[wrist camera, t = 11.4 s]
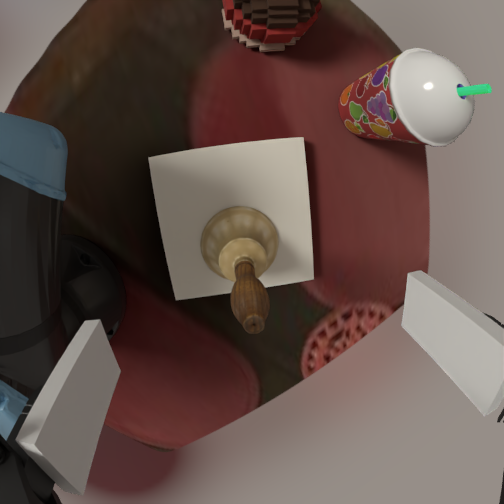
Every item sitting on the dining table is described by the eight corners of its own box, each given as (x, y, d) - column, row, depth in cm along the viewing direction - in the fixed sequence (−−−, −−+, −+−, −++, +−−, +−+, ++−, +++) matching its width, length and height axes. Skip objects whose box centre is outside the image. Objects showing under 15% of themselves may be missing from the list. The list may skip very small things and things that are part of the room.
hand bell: (239, 294, 34) (256, 394, 19) (184, 245, 32) (157, 325, 17) (293, 243, 33) (352, 317, 18) (240, 189, 30) (261, 223, 15)
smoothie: (399, 130, 32) (529, 131, 13) (347, 156, 33) (475, 170, 14) (370, 70, 29) (490, 25, 10) (314, 91, 30) (423, 36, 11)
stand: (177, 292, 35) (175, 300, 33) (152, 157, 30) (148, 157, 28) (309, 273, 36) (313, 279, 35) (298, 138, 31) (303, 137, 29)
